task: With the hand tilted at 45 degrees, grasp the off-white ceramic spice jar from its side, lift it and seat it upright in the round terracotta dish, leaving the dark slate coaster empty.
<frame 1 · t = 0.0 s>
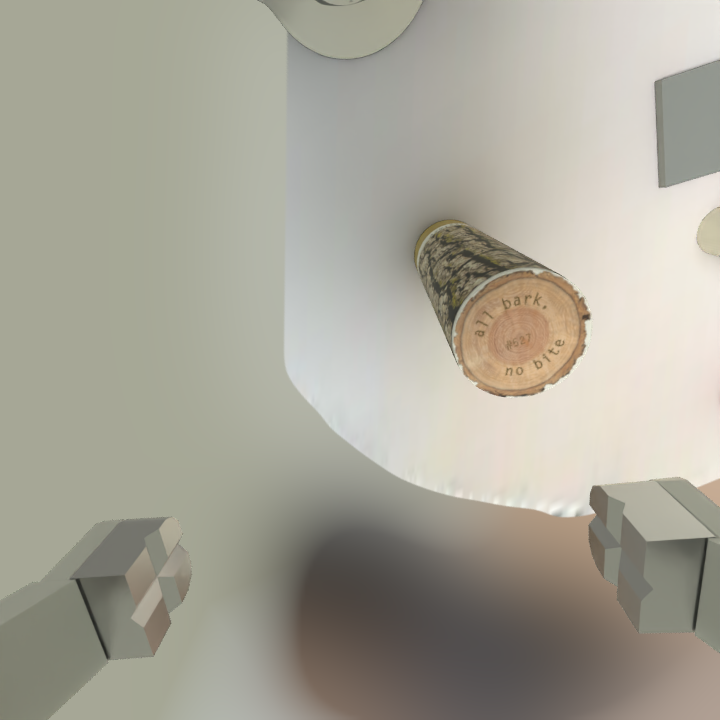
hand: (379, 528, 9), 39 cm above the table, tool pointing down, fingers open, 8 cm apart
slate coaster: (709, 120, 39), on the table
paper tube: (446, 253, 45), on the table
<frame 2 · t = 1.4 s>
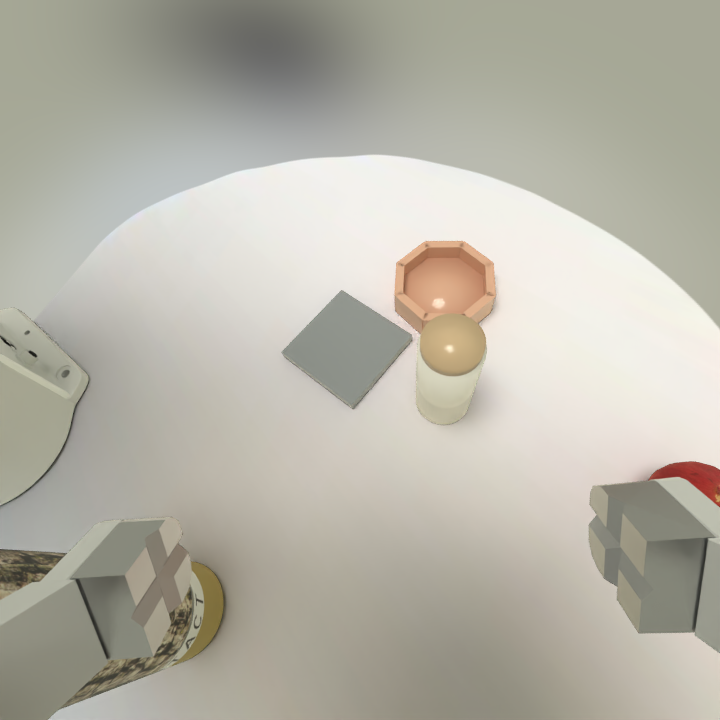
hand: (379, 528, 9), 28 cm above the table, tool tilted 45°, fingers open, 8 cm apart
onion: (665, 511, 33), on the table
spice jar: (442, 399, 39), on the table
terracotta dish: (442, 295, 44), on the table
slate coaster: (347, 348, 42), on the table
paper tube: (186, 609, 34), on the table
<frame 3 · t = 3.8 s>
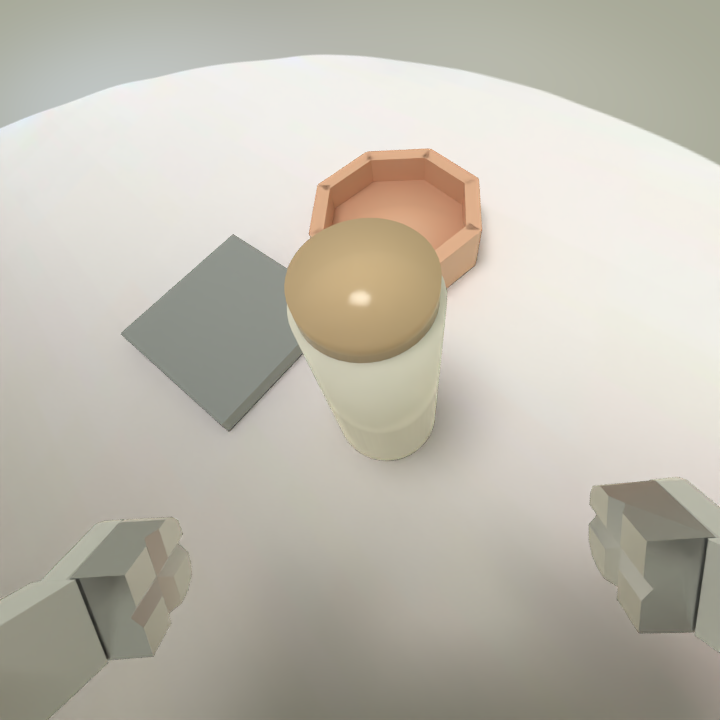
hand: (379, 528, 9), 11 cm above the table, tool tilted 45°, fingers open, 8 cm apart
spice jar: (386, 413, 22), on the table
terracotta dish: (396, 240, 27), on the table
slate coaster: (234, 327, 25), on the table
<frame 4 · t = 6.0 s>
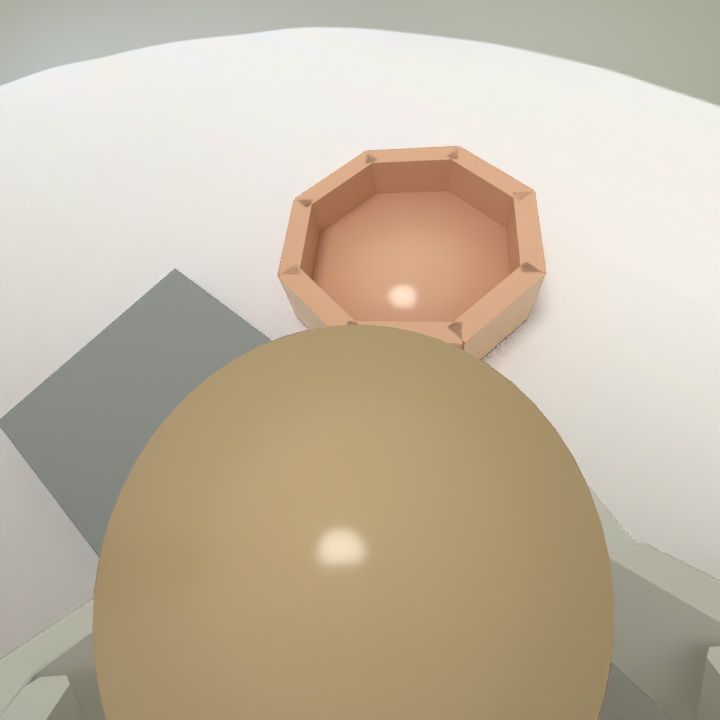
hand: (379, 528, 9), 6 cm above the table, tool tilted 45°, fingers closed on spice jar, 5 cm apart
spice jar: (396, 571, 13), on the table, touching gripper
terracotta dish: (409, 279, 18), on the table
slate coaster: (169, 410, 17), on the table
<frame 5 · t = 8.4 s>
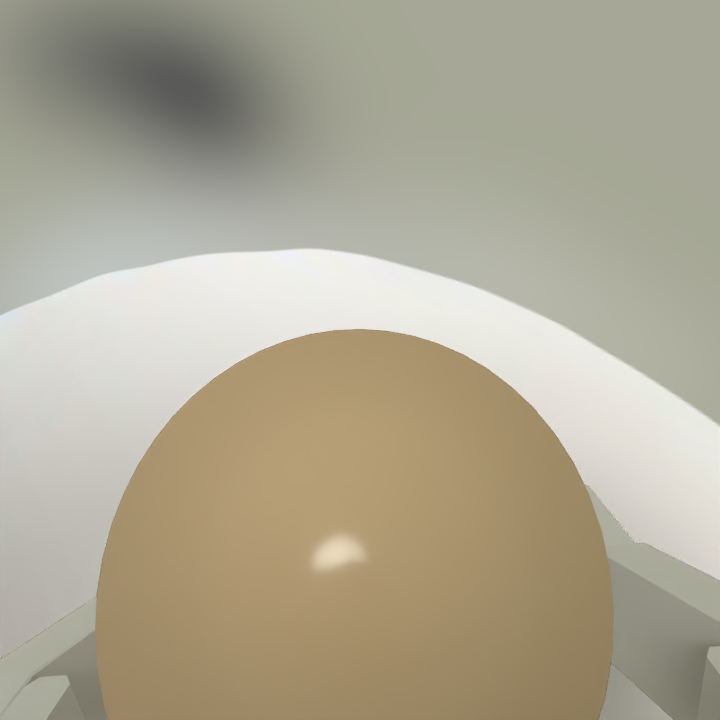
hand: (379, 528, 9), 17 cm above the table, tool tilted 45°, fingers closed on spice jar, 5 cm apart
spice jar: (396, 572, 13), point 11 cm above the table, touching gripper
when the fingers open (8 cm above the table, at t = 10.8 s): spice jar stays where it is, resting on terracotta dish.
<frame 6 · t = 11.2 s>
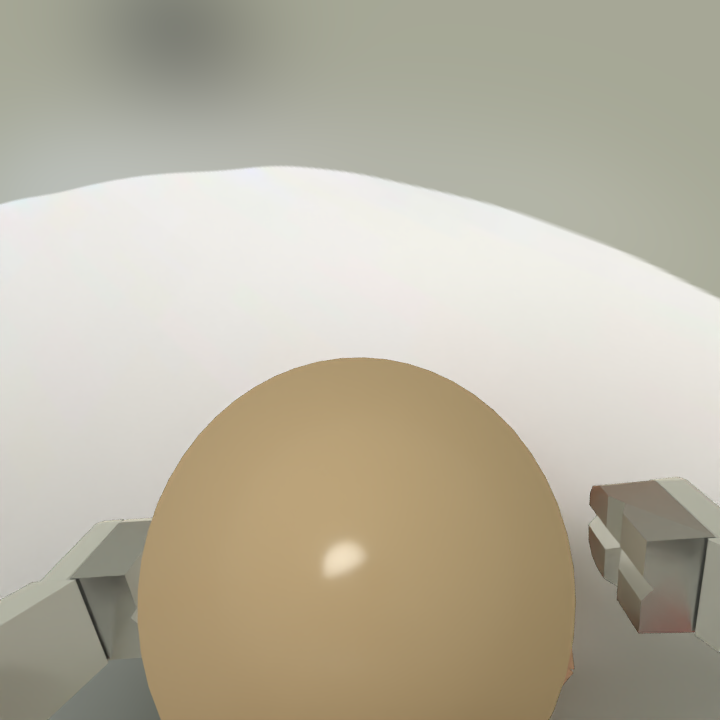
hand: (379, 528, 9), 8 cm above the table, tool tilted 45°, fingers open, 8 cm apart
spice jar: (395, 572, 14), point 1 cm above the table, touching terracotta dish
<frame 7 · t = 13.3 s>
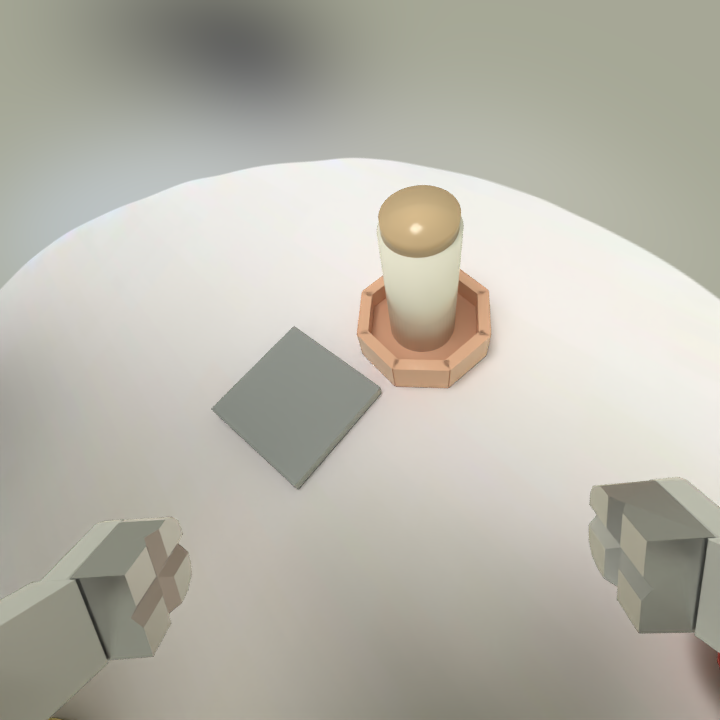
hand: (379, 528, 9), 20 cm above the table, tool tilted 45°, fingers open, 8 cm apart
spice jar: (422, 324, 33), point 1 cm above the table, touching terracotta dish
terracotta dish: (423, 332, 34), on the table
slate coaster: (297, 403, 32), on the table
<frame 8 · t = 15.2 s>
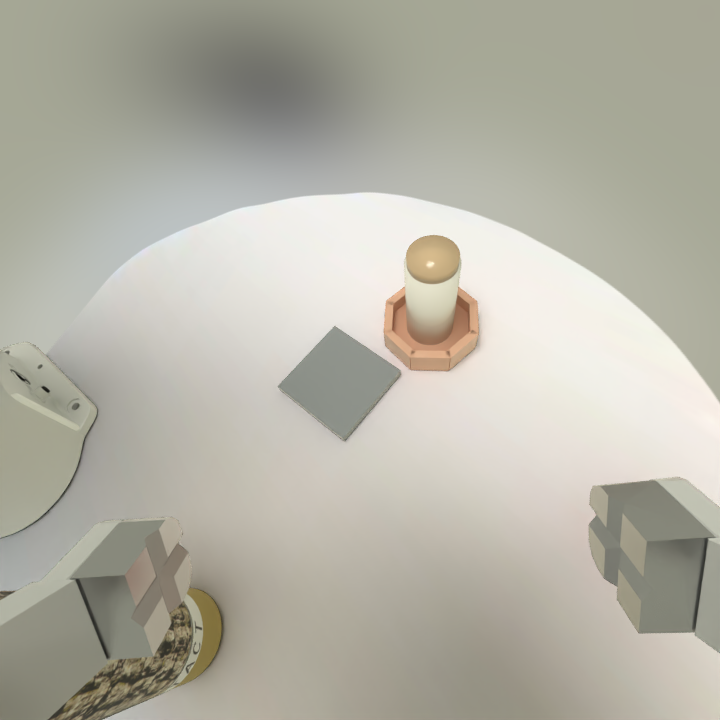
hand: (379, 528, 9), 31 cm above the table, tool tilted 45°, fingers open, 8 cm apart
spice jar: (429, 325, 45), point 1 cm above the table, touching terracotta dish
terracotta dish: (430, 331, 46), on the table
slate coaster: (340, 382, 45), on the table
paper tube: (186, 633, 36), on the table
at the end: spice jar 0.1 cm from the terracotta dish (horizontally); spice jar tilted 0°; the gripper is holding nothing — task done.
